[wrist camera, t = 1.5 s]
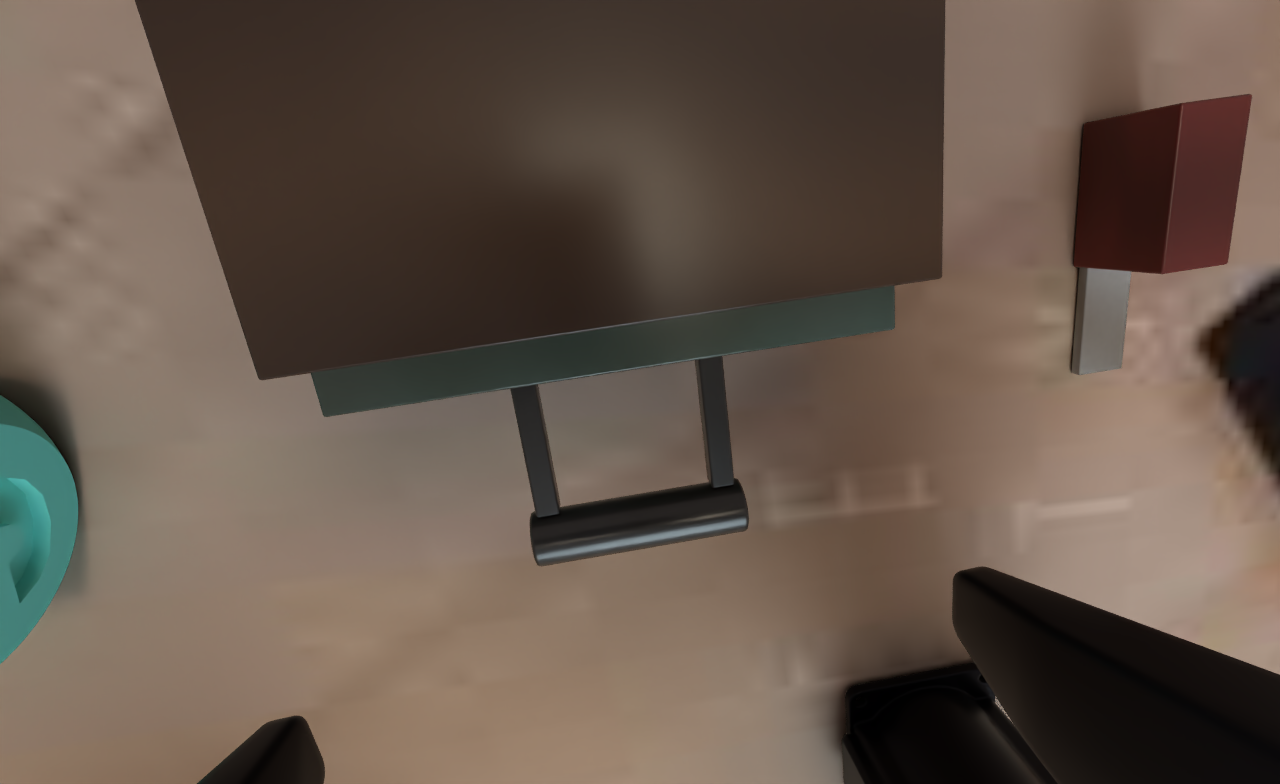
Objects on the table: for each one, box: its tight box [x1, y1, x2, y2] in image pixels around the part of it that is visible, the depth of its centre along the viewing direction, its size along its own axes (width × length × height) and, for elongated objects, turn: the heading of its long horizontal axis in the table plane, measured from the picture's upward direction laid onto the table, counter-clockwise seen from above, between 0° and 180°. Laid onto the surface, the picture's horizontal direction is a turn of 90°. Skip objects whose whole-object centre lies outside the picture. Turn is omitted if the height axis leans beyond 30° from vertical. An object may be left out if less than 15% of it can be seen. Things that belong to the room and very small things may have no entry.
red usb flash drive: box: [1072, 94, 1252, 375], centre depth 20 cm, size 9×2×3 cm, turn 8°
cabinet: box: [135, 0, 945, 380], centre depth 14 cm, size 12×15×8 cm
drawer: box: [311, 286, 895, 566], centre depth 16 cm, size 15×13×6 cm
